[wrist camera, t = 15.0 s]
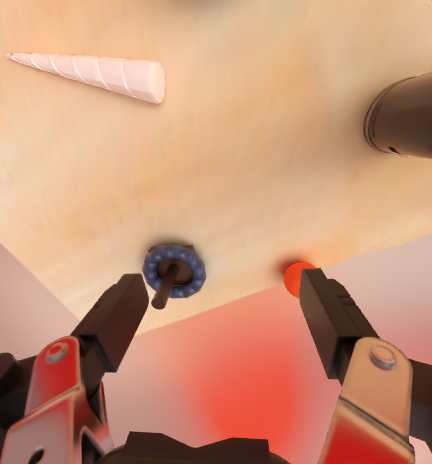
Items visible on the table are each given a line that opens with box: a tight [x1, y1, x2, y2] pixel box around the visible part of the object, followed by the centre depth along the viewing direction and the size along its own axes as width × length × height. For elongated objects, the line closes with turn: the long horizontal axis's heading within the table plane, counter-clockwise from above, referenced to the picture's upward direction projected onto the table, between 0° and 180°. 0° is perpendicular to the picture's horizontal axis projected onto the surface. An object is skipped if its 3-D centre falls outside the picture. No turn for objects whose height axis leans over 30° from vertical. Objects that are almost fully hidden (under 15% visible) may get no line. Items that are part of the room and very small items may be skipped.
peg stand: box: [149, 245, 194, 309], centre depth 40 cm, size 9×9×12 cm
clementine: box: [284, 262, 321, 298], centre depth 40 cm, size 8×7×7 cm
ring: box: [142, 244, 206, 298], centre depth 42 cm, size 13×13×3 cm
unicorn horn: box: [4, 53, 166, 104], centre depth 28 cm, size 5×24×5 cm, turn 77°
